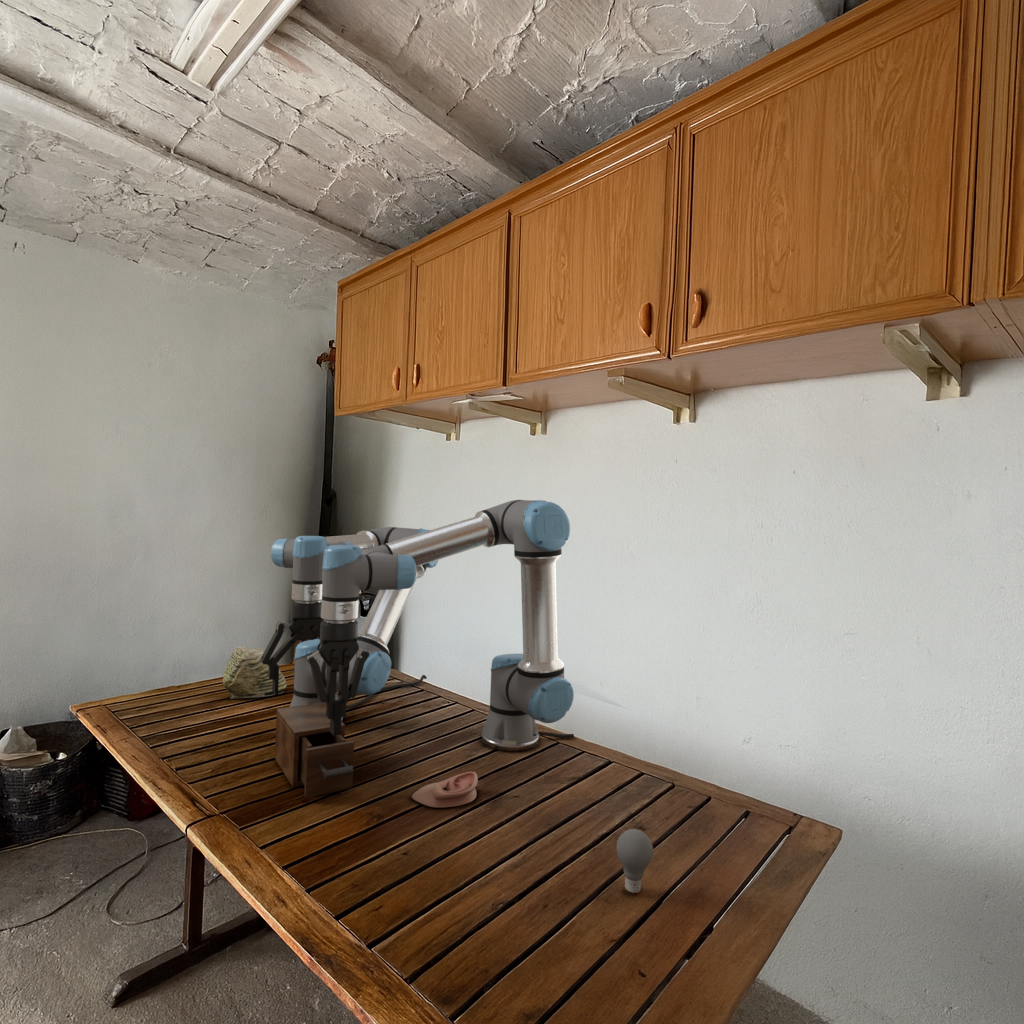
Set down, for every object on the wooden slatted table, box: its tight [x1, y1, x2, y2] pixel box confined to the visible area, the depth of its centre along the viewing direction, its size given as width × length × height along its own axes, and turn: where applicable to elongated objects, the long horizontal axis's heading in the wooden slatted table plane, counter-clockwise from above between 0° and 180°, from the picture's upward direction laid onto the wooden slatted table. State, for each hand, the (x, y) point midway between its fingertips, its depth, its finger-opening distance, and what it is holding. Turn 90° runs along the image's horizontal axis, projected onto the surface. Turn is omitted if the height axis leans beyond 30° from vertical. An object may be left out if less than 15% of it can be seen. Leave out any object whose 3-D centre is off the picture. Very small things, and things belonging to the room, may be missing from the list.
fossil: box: [222, 646, 288, 699], centre depth 198 cm, size 9×18×15 cm, turn 132°
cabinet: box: [274, 703, 346, 788], centre depth 147 cm, size 17×11×12 cm, turn 33°
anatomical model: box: [411, 771, 479, 809], centre depth 136 cm, size 13×4×12 cm
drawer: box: [298, 732, 355, 799], centre depth 138 cm, size 22×10×10 cm, turn 33°
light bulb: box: [615, 828, 654, 894], centre depth 106 cm, size 6×6×10 cm
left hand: (304, 689), depth 152 cm, fingers open, 13 cm apart
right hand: (335, 732), depth 131 cm, fingers closed
